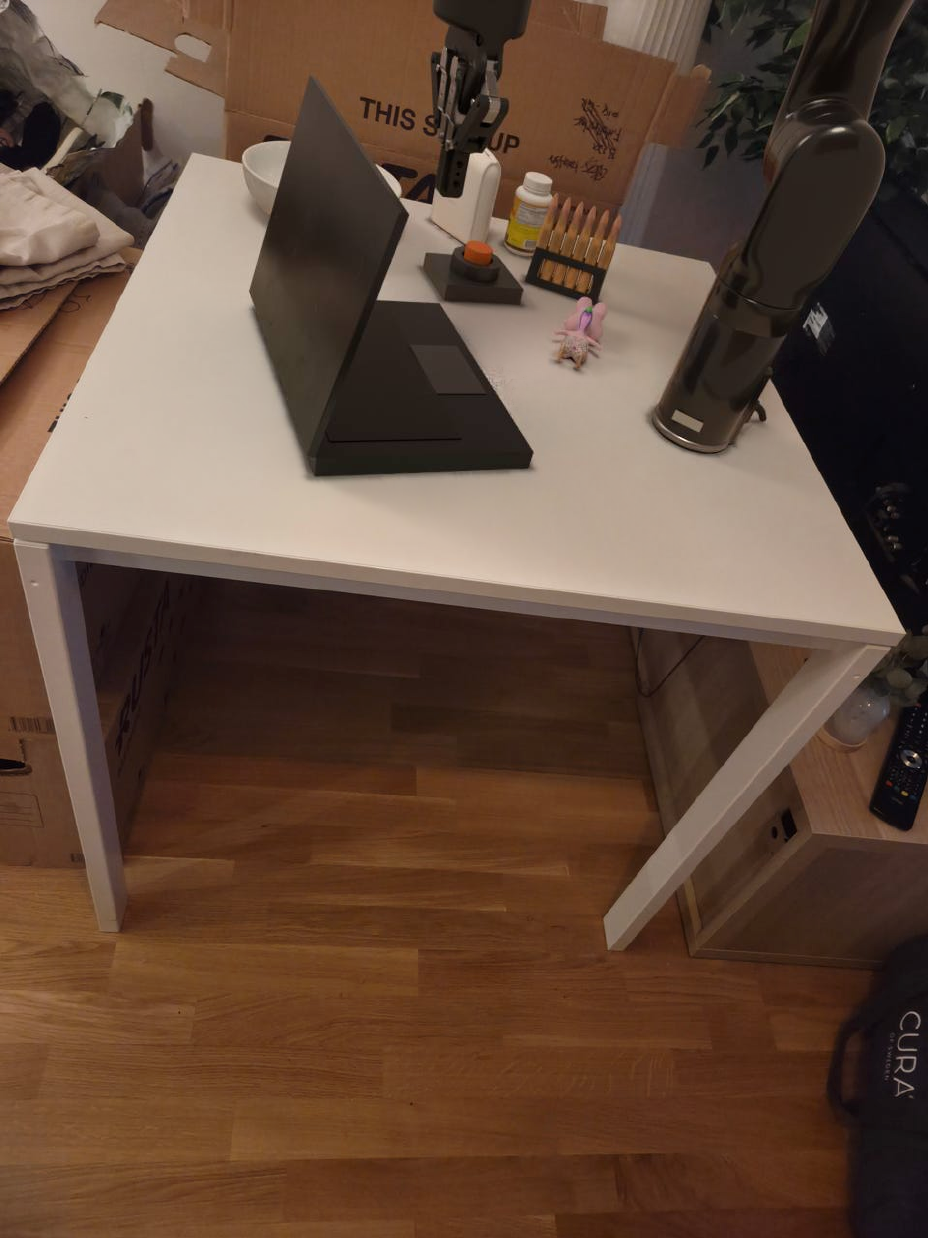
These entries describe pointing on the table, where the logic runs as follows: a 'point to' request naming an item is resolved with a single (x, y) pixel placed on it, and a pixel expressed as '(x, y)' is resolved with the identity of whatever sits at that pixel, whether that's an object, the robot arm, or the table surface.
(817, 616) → the table surface
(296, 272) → the laptop screen
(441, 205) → the photo printer
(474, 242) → the power button
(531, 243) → the supplement bottle
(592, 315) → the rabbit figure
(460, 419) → the laptop
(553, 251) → the ammunition clip
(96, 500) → the table surface
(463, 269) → the switch box
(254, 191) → the serving bowl
